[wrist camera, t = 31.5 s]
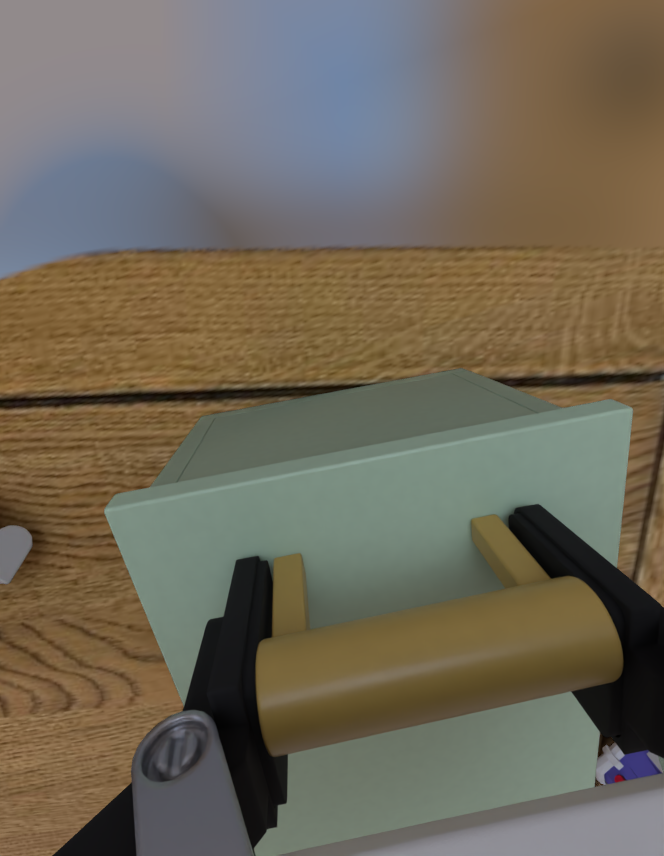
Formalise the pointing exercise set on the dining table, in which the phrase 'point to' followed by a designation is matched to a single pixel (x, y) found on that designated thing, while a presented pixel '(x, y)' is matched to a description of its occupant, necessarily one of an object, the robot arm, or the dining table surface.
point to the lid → (402, 614)
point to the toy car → (625, 765)
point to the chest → (344, 422)
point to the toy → (13, 550)
